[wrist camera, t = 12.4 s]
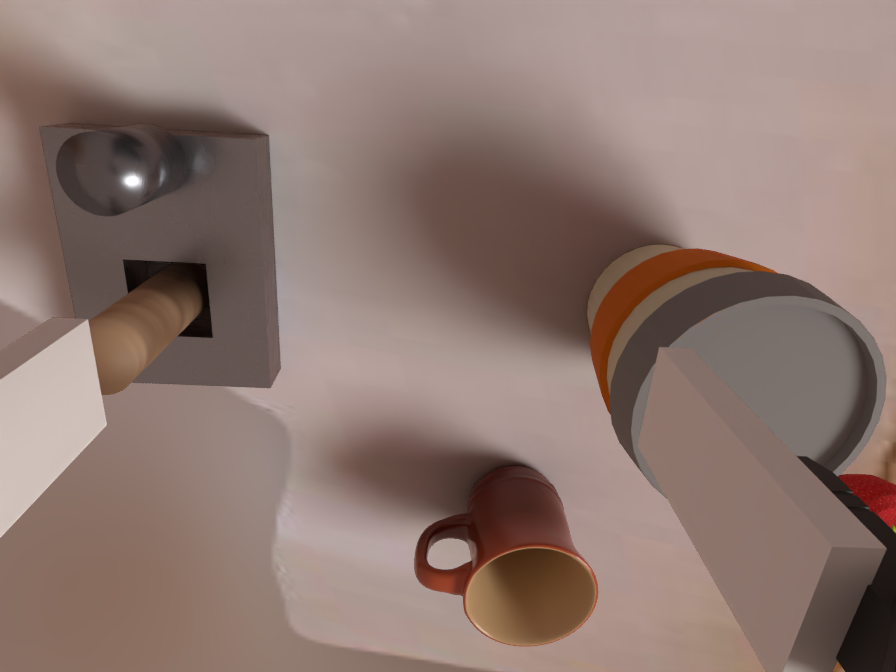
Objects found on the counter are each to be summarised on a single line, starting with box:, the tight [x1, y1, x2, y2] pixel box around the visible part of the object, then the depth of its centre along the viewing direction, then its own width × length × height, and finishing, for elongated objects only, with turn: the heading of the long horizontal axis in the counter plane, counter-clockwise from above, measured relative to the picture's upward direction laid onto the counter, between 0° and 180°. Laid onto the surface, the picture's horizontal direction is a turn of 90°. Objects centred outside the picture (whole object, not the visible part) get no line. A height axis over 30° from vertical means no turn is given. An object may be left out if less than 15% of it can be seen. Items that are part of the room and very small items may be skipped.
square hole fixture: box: [39, 123, 281, 388], centre depth 36 cm, size 16×12×9 cm
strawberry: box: [838, 474, 896, 533], centre depth 44 cm, size 6×8×10 cm
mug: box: [414, 466, 598, 646], centre depth 44 cm, size 12×9×10 cm
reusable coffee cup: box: [587, 245, 886, 498], centre depth 35 cm, size 13×13×15 cm
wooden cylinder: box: [88, 262, 210, 395], centre depth 35 cm, size 4×4×12 cm
